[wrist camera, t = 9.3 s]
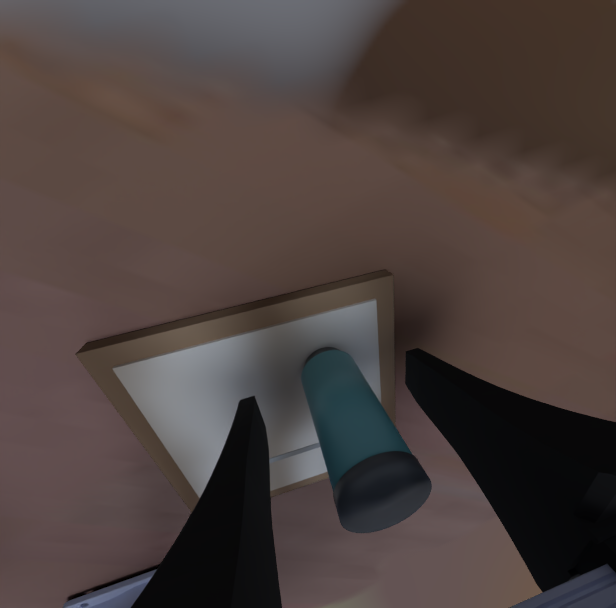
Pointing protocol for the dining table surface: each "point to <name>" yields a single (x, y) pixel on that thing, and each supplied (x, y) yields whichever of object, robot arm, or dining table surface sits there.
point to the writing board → (244, 377)
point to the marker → (360, 446)
